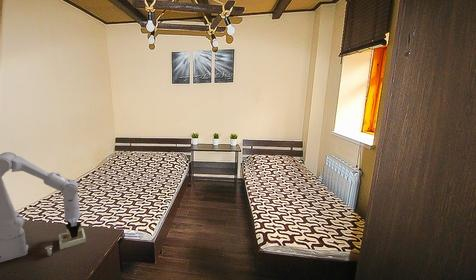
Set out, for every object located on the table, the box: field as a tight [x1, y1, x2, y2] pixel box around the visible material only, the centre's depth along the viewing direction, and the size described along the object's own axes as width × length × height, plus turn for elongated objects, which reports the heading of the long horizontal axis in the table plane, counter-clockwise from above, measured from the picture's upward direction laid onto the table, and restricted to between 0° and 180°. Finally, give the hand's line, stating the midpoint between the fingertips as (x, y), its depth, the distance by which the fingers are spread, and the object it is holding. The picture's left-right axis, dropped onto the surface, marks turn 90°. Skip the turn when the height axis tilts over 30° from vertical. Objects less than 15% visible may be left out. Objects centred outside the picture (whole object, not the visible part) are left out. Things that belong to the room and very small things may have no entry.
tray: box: [58, 227, 87, 251], centre depth 110 cm, size 10×10×2 cm
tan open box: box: [63, 226, 82, 242], centre depth 110 cm, size 7×5×5 cm
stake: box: [44, 244, 53, 257], centre depth 100 cm, size 2×2×4 cm
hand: (73, 233), depth 110 cm, fingers open, 7 cm apart
